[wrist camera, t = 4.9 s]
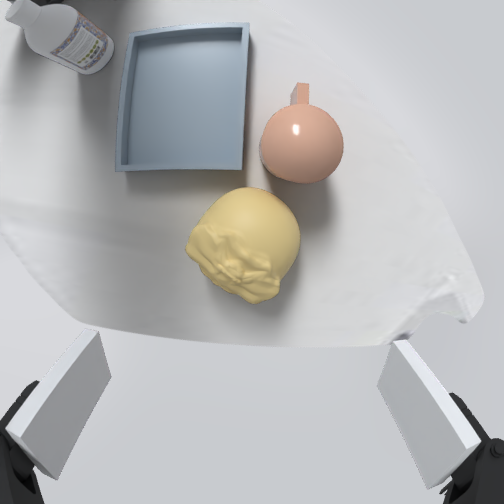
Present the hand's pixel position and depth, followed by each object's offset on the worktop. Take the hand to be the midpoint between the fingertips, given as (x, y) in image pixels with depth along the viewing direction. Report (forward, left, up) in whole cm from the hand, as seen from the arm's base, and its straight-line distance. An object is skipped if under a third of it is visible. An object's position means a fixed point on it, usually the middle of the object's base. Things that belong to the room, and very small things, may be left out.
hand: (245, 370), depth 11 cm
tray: (-18, -9, -27) cm, 33 cm away
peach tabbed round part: (-12, +5, -27) cm, 30 cm away
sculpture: (0, 0, -27) cm, 27 cm away
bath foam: (-27, -24, -27) cm, 45 cm away
